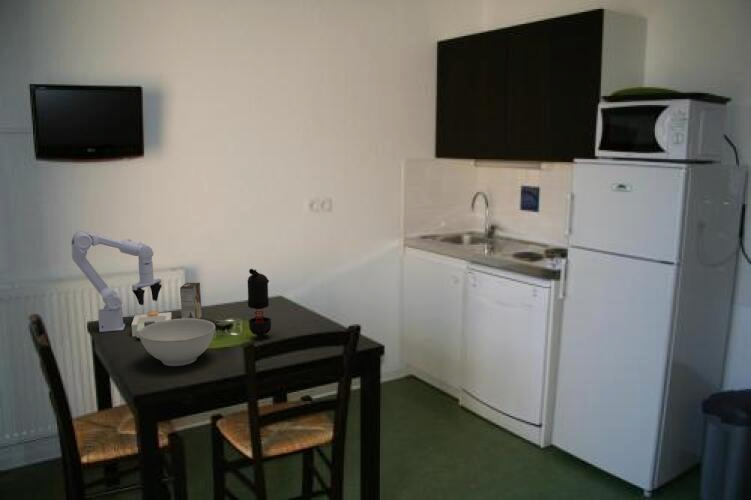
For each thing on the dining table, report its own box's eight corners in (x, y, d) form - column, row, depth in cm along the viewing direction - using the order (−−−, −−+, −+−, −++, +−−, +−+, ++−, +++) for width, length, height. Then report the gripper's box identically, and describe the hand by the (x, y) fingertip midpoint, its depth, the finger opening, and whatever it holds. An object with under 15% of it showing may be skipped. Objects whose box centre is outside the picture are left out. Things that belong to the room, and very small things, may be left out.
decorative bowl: (189, 343, 250) (187, 314, 247) (231, 358, 233) (230, 327, 231) (126, 361, 229) (124, 330, 227) (167, 380, 213) (165, 346, 210)
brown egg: (147, 324, 268) (147, 314, 268) (148, 321, 273) (147, 311, 272) (158, 323, 270) (157, 313, 269) (159, 320, 274) (158, 310, 273)
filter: (263, 343, 250) (261, 270, 244) (243, 340, 253) (240, 268, 247) (279, 332, 262) (277, 263, 257) (260, 330, 265) (257, 261, 260)
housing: (132, 336, 258) (131, 324, 257) (135, 325, 272) (135, 314, 271) (170, 333, 262) (169, 321, 261) (172, 323, 276) (171, 312, 275)
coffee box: (188, 316, 286) (186, 282, 283) (202, 316, 286) (200, 282, 283) (181, 322, 277) (179, 287, 274) (196, 322, 277) (194, 287, 274)
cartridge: (136, 337, 252) (135, 323, 251) (139, 330, 261) (138, 316, 260) (163, 335, 255) (162, 321, 253) (164, 328, 264) (163, 314, 263)
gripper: (152, 268, 279) (154, 297, 282) (126, 274, 267) (128, 305, 269) (164, 269, 276) (165, 299, 279) (137, 276, 264) (139, 307, 266)
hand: (148, 302), depth 274 cm, fingers open, 7 cm apart
